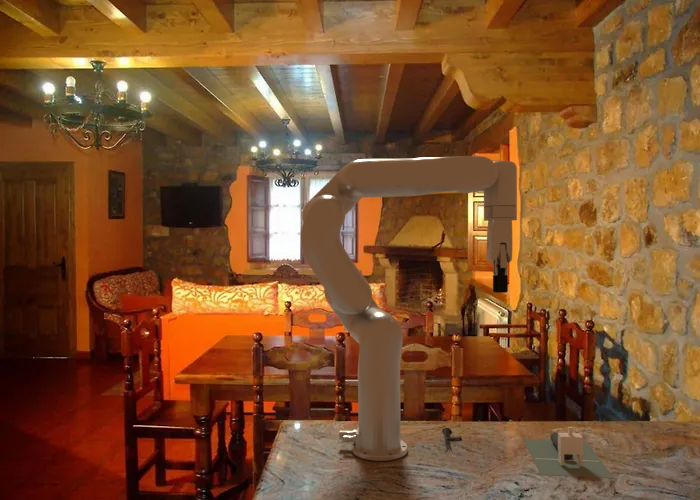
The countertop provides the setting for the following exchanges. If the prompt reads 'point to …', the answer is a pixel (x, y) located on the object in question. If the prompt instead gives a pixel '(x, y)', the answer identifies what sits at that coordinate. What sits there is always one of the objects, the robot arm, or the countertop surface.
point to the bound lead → (555, 441)
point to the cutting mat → (565, 461)
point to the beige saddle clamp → (570, 446)
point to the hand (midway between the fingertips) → (500, 292)
